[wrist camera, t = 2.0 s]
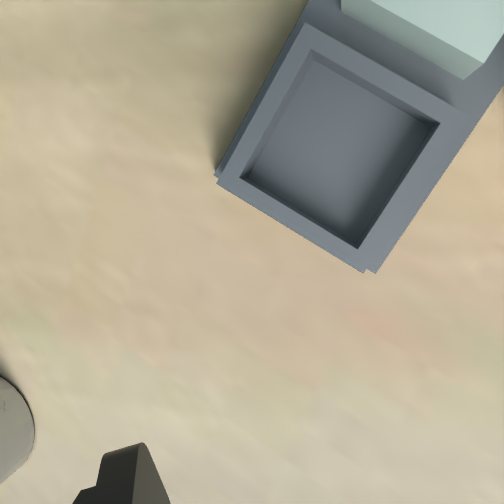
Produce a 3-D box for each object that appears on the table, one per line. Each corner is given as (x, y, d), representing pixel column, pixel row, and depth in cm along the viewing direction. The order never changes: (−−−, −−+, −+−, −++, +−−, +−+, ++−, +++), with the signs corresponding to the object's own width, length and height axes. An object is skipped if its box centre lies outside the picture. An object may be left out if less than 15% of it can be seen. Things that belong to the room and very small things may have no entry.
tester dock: (374, 270, 30) (380, 288, 25) (217, 175, 31) (194, 174, 26) (555, 1, 26) (605, -39, 21) (367, -100, 27) (373, -161, 22)
